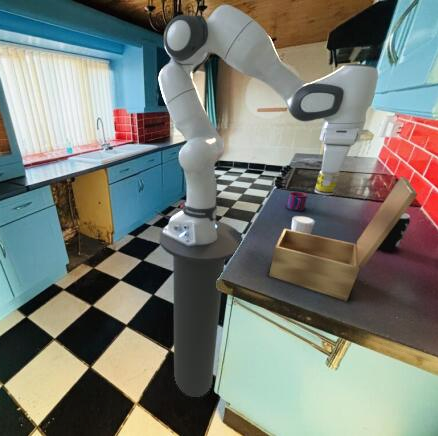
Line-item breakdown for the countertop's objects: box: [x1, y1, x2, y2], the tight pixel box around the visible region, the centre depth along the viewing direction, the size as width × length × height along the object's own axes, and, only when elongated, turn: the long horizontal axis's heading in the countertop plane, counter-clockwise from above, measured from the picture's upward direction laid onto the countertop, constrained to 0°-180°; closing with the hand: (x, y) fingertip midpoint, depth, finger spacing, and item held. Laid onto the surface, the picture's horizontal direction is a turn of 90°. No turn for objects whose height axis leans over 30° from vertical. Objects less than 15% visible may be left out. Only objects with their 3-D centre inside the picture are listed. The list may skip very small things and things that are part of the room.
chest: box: [269, 228, 361, 302], centre depth 65 cm, size 18×13×10 cm
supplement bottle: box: [314, 169, 340, 196], centre depth 70 cm, size 5×5×8 cm
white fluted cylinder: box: [290, 215, 316, 234], centre depth 85 cm, size 7×7×7 cm
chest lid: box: [356, 176, 419, 268], centre depth 53 cm, size 18×13×1 cm
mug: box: [286, 191, 308, 212], centre depth 107 cm, size 7×10×7 cm
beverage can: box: [377, 212, 411, 253], centre depth 75 cm, size 7×7×12 cm
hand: (326, 182), depth 70 cm, fingers closed on supplement bottle, 5 cm apart
